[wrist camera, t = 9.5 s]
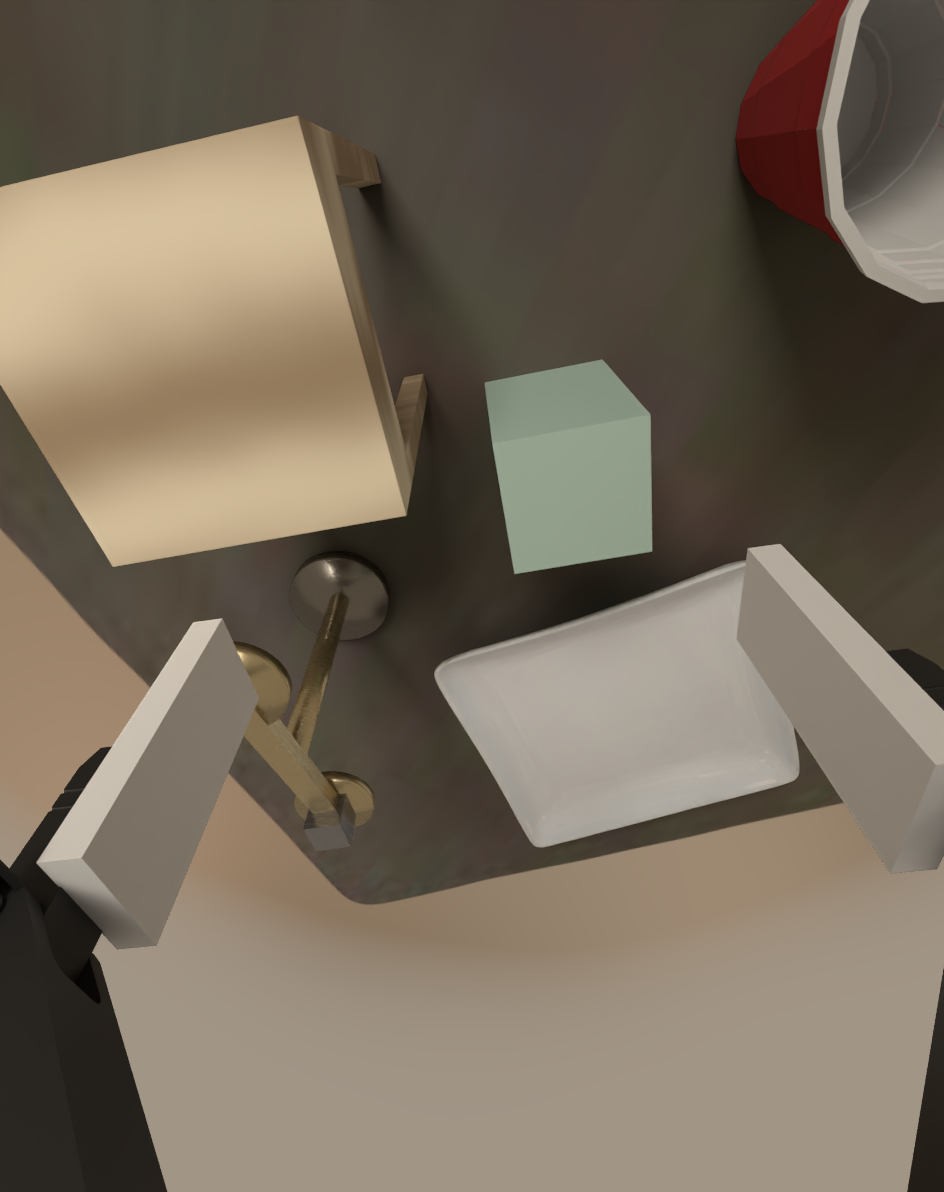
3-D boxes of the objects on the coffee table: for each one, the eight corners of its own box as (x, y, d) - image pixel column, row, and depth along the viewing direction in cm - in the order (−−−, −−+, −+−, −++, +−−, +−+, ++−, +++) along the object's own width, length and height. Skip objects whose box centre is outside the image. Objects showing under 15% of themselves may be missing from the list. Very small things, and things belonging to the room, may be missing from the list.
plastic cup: (928, 228, 26) (1209, 246, 16) (684, 295, 28) (808, 349, 18) (983, -127, 20) (1475, -433, 11) (669, -20, 22) (842, -201, 12)
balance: (251, 495, 33) (126, 672, 21) (354, 477, 33) (288, 647, 20) (332, 684, 41) (277, 891, 29) (415, 671, 41) (395, 877, 28)
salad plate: (747, 528, 35) (772, 557, 32) (784, 749, 46) (805, 785, 44) (427, 637, 40) (425, 671, 37) (531, 815, 51) (535, 852, 48)
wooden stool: (151, 205, 26) (-106, 212, 14) (374, 154, 25) (297, 115, 13) (243, 429, 31) (112, 566, 19) (427, 393, 30) (406, 515, 19)
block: (484, 382, 30) (492, 443, 23) (602, 359, 29) (650, 414, 22) (502, 489, 33) (514, 573, 26) (608, 470, 33) (652, 551, 25)
